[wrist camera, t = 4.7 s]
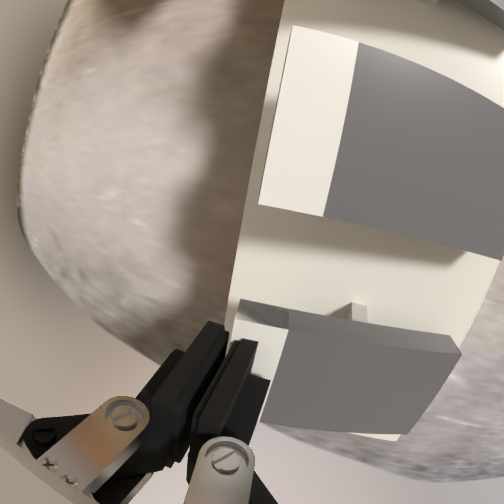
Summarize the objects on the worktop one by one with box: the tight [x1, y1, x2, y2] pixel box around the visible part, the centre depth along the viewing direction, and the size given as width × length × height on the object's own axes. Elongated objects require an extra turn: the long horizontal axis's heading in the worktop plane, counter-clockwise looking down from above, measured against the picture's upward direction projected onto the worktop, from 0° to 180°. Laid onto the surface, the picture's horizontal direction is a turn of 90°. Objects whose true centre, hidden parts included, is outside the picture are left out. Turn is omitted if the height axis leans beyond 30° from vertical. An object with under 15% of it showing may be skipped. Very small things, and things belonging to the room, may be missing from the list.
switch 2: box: [229, 298, 462, 434], centre depth 10 cm, size 8×4×1 cm, turn 79°
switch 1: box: [258, 25, 504, 261], centre depth 8 cm, size 8×4×1 cm, turn 79°
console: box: [224, 0, 504, 441], centre depth 12 cm, size 10×26×7 cm, turn 169°
